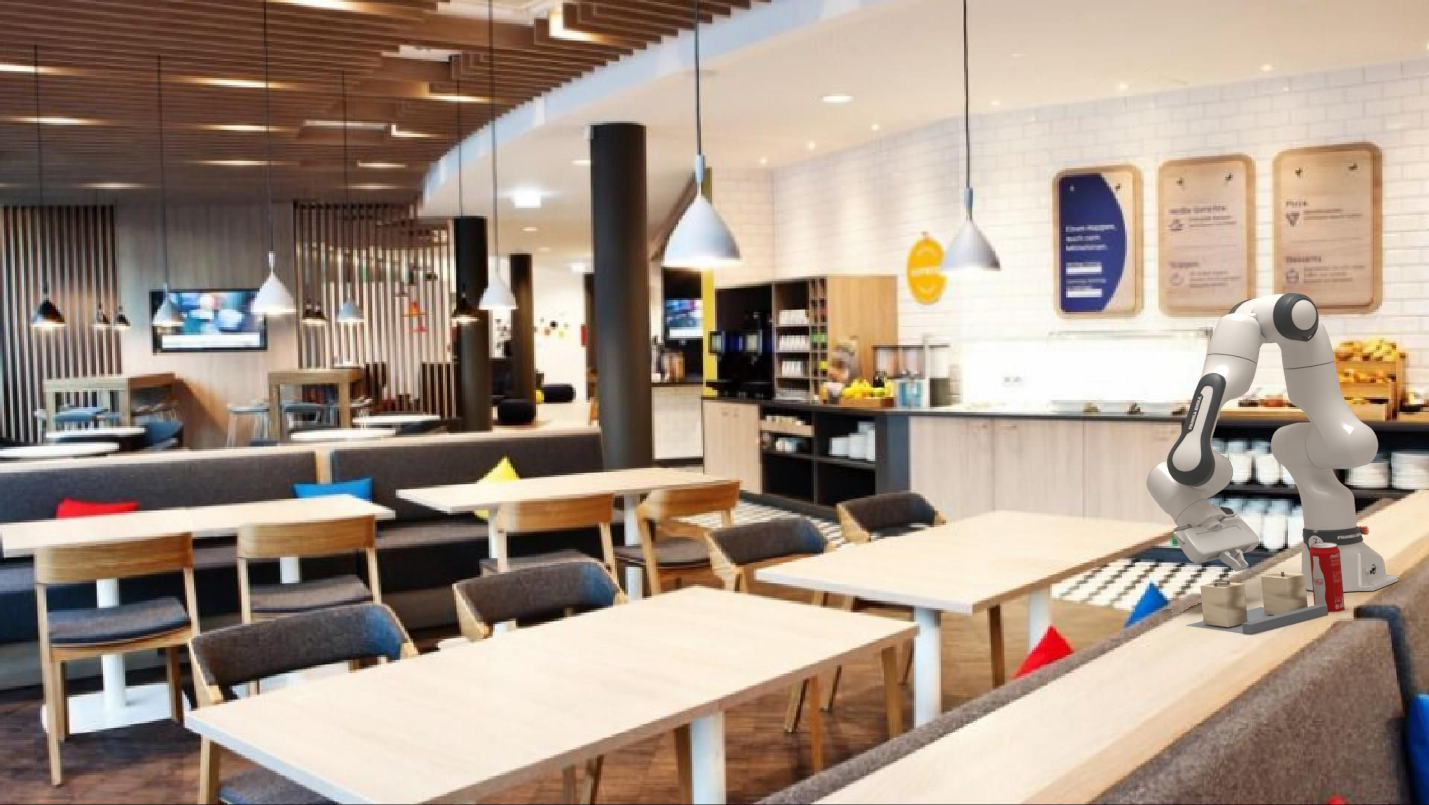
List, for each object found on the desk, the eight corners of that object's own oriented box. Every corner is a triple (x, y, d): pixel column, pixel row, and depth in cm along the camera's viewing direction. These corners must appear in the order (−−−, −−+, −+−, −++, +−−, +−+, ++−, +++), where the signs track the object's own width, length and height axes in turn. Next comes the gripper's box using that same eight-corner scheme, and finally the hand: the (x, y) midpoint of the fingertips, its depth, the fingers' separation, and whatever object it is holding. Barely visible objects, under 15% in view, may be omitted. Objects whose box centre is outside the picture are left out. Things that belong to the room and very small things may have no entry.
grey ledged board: (1261, 611, 266) (1259, 597, 266) (1328, 619, 252) (1327, 605, 252) (1186, 630, 255) (1184, 615, 255) (1252, 639, 241) (1250, 624, 241)
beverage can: (1338, 610, 260) (1332, 540, 260) (1351, 616, 254) (1344, 544, 254) (1309, 612, 261) (1303, 543, 261) (1321, 618, 254) (1315, 546, 254)
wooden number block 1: (1282, 609, 260) (1279, 570, 260) (1308, 612, 255) (1304, 572, 255) (1264, 613, 258) (1260, 574, 258) (1289, 617, 252) (1286, 576, 252)
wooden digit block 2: (1223, 619, 256) (1219, 579, 256) (1247, 622, 251) (1244, 581, 251) (1203, 624, 253) (1200, 583, 253) (1228, 627, 248) (1224, 586, 248)
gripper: (1176, 519, 267) (1218, 567, 258) (1237, 507, 277) (1280, 552, 268) (1162, 538, 271) (1203, 586, 262) (1223, 525, 281) (1264, 570, 272)
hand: (1242, 568), depth 265 cm, fingers closed
